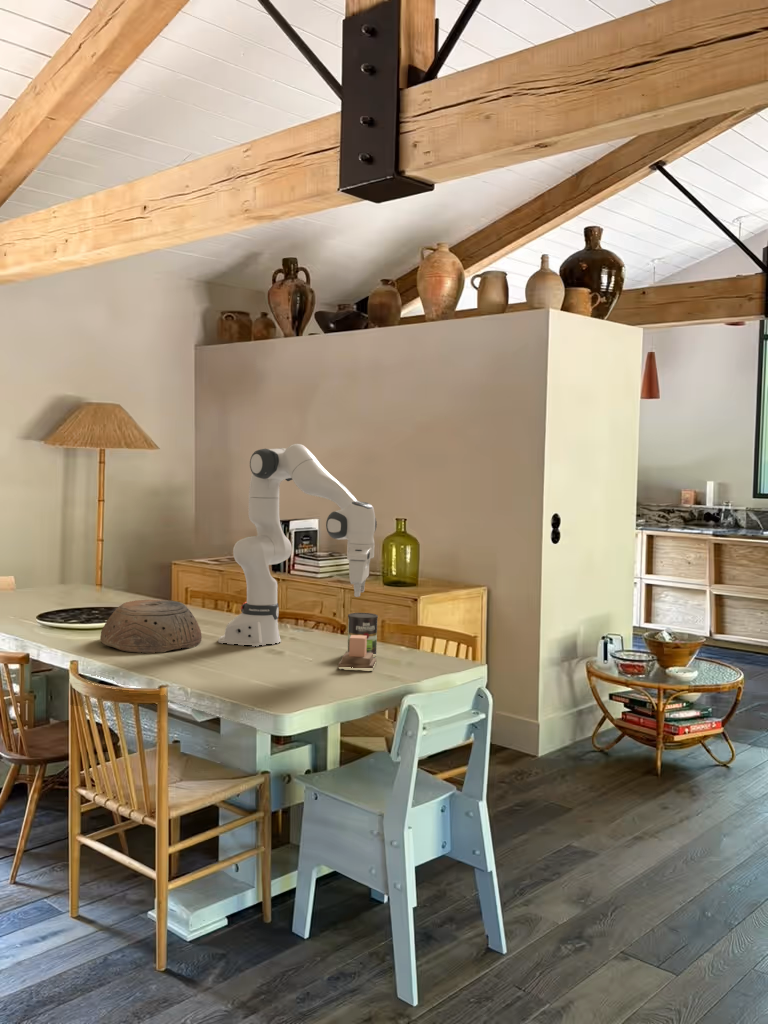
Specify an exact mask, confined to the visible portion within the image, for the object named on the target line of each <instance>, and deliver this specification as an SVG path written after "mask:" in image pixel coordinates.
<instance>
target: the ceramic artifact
mask: <svg viewBox="0 0 768 1024" xmlns="http://www.w3.org/2000/svg"><path fill="white" fill-rule="evenodd" d="M201 641H202V631H201V627H200V625H199V623H198V621H197V619H196V618H195V615H194V614H193V612H191V610H190V609H189V607H187V605H186V604H184V603H183V602H180V601H175V600H167V599H137V600H136V599H135V600H130V601H126V602H123V603H122V604H120V605H119V606H118V607H117V608H116V609H115V610H114V611H113V612H112V613H111V615H109V617H108V618H107V620H106V622H105V624H104V626H103V627H102V629H101V632H100V642H101V643H102V644H103V645H105V646H107V647H110V648H115V649H117V650H119V651H123V652H127V653H129V652H130V653H138V654H140V653H141V652H142V653H143V654H149V653H150V654H156V653H155V652H164V653H166V652H169V651H172V650H173V651H174V650H180V649H181V648H182V649H190V648H189V647H192V648H195V647H197V646H199V644H200V643H201ZM196 645H197V646H196ZM194 646H195V647H194ZM142 653H141V654H142Z"/></svg>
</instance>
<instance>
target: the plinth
mask: <svg viewBox="0 0 768 1024" xmlns="http://www.w3.org/2000/svg"><path fill="white" fill-rule="evenodd" d="M375 662H376V663H377V658H376V657H373V653H367V652H366V655H365V657H356V656H349V652H348V651H345V653H343V655H342V657H341V660H340V661H338V664H337V665H338V667H351V668H352V667H353V668H373V666H374V664H375ZM338 667H337V668H338Z"/></svg>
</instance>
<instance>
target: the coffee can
mask: <svg viewBox="0 0 768 1024" xmlns="http://www.w3.org/2000/svg"><path fill="white" fill-rule="evenodd" d="M378 618H379V616H378V614H375V613H370V612H351V613H349V614H348V615H347V619H348V623H347V624H348V625H347V651H348V652H349V641H350V637H351V635H364V636H367V651H366V652H367V653H373V654H376V655H377V642H378V641H377V640H378V637H377V636H378Z"/></svg>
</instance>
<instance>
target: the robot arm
mask: <svg viewBox="0 0 768 1024" xmlns="http://www.w3.org/2000/svg"><path fill="white" fill-rule="evenodd" d="M249 468H250V472H251V475H250V476H251V477H250V480H249V481H250V482H249V487H248V489H249V490H248V514H247V515H248V519H249V521H250V522H251V523H252V524H253V525H254V527H255V528H256V529H255V530H256V533H257V535H255V536H254V535H253V536H246V537H243V538H241V539H239V540H237V541H236V543H235V544H234V545H233V548H232V549H233V550H232V555H233V558H234V561H235V562H236V563H237V564H238V565H239V567H241V569H242V571H243V574H244V577H245V582H246V601H245V602H243V603H242V604H241V606H240V610H241V613H240V614H238V615H237V616H235V617H234V618H233V619H232V620H230V621H229V622H228V623H227V625H226V627H225V630H224V634H223V635H221V636H220V637H218V641H217V642H218V643H219V644H223V643H227V645H234V644H238V645H237V646H244V645H252V646H251V647H255V646H256V647H260V646H259V645H262V646H267V645H266V644H272V645H276V644H275V643H277V644H279V642H280V643H281V642H282V639H281V637H280V630H279V623H278V622H279V621H278V619H279V609H280V608H279V603H278V581H277V580H276V578H274V577H273V576H272V574H271V571H270V565H278V564H280V563H282V562H285V561H286V560H288V559H290V557H291V556H292V551H293V548H292V543H291V541H290V539H288V537H287V536H286V535H285V533H284V531H283V528H282V524H281V519H280V484H281V483H282V482H283V481H287V482H290V481H293V482H294V484H295V485H296V487H297V488H298V489H299V490H300V491H301V492H302V493H304V494H306V495H309V496H314V497H319V498H323V499H327V500H329V501H331V502H333V503H335V504H336V505H337V506H338V507H339V508H340V509H338V510H335V511H332V512H331V513H330V514H329V515H328V516H327V519H326V520H325V521H326V522H325V529H326V532H327V534H328V535H329V536H330V537H331V538H332V539H335V540H340V541H341V540H347V542H346V543H347V544H346V545H347V546H346V547H347V549H346V559H347V560H348V573H349V576H348V577H349V582H350V584H351V585H353V591H354V593H353V596H354V597H356V598H360V596H361V593H364V592H365V586H366V579H367V578H368V577H369V576H370V564H371V559H374V558H375V547H376V546H375V538H374V537H375V532H376V530H377V525H378V524H377V518H376V514H375V513H376V512H375V508H374V505H372V504H371V503H369V502H365V501H359V500H357V498H356V497H355V496H354V495H353V494H352V493H351V491H350V490H349V489H348V488H347V487H346V486H345V485H344V484H343V483H342V482H341V481H340V480H338V479H337V478H336V477H334V475H332V474H331V473H330V472H329V471H328V470H327V469H326V468H325V467H324V466H323V465H322V464H321V463H320V461H319V459H318V458H317V457H316V456H315V455H314V454H313V452H311V451H310V449H308V447H306V446H305V445H304V444H301V443H293V444H291V445H289V446H288V447H286V448H284V447H278V448H260V449H258V450H255V451H254V452H252V454H251V457H250V460H249Z"/></svg>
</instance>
